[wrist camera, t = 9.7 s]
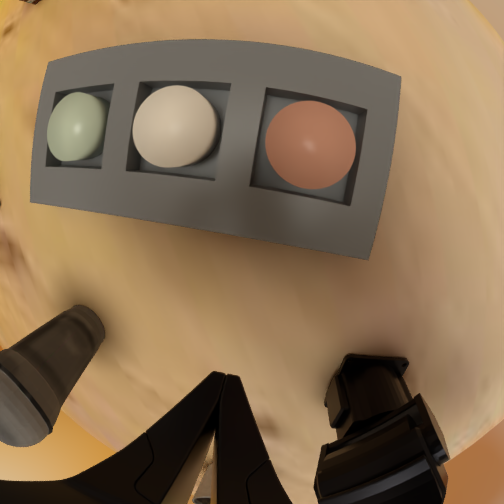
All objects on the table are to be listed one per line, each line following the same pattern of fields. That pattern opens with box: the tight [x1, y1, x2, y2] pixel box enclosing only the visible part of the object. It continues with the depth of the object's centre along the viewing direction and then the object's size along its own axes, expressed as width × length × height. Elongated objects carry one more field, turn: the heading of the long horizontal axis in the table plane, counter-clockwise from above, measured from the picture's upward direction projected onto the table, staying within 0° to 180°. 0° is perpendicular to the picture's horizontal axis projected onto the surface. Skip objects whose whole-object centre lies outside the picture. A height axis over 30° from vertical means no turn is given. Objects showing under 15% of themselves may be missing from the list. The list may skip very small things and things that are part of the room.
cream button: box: [133, 85, 221, 168], centre depth 15 cm, size 5×5×2 cm
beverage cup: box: [0, 305, 105, 447], centre depth 14 cm, size 7×7×20 cm
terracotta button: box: [265, 101, 356, 189], centre depth 15 cm, size 5×5×2 cm
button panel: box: [30, 39, 401, 260], centre depth 16 cm, size 26×12×2 cm, turn 81°
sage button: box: [47, 92, 110, 161], centre depth 16 cm, size 5×5×2 cm
